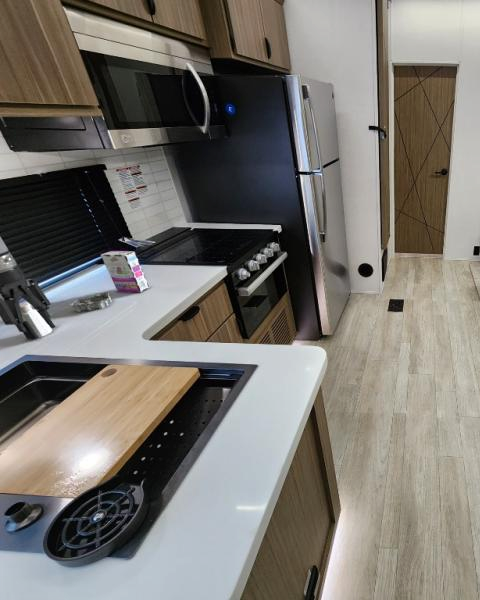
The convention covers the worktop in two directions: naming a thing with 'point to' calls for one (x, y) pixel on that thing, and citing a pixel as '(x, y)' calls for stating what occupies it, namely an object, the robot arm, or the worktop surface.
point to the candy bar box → (125, 271)
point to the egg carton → (92, 302)
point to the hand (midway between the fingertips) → (41, 332)
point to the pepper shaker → (35, 320)
